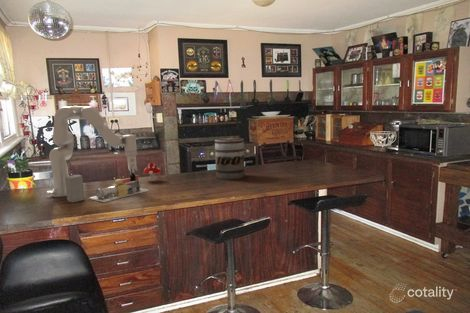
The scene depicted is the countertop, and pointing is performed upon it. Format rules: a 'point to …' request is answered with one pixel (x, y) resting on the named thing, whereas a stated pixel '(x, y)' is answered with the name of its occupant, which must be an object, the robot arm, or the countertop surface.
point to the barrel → (229, 158)
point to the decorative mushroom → (152, 171)
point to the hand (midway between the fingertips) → (133, 180)
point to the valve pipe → (118, 191)
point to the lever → (125, 180)
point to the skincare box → (74, 188)
